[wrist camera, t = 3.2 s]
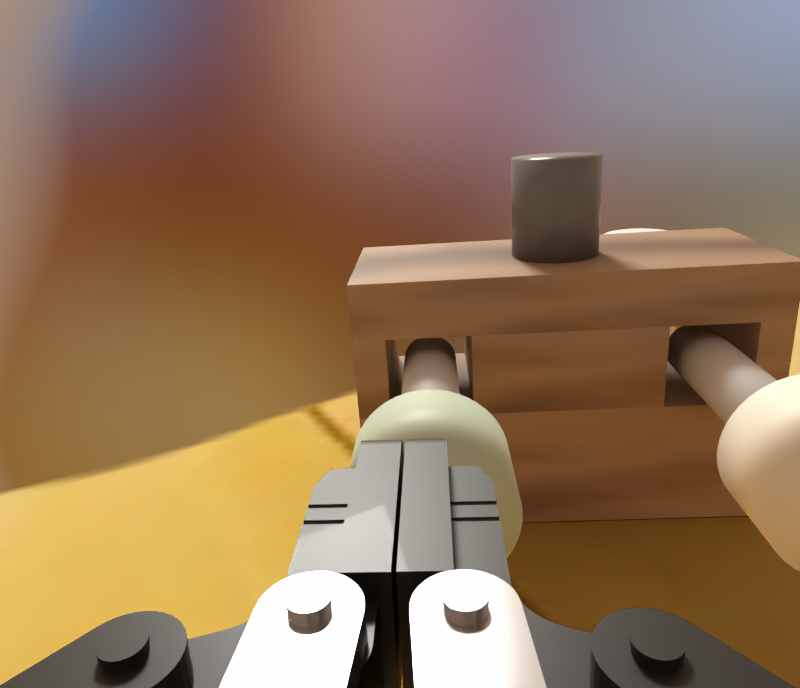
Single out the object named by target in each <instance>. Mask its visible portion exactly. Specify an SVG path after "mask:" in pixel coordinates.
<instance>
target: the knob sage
mask: <svg viewBox="0 0 800 688" xmlns="http://www.w3.org/2000/svg"><path fill="white" fill-rule="evenodd" d="M442 438H446V439H447V455H448V467H449V466H479V467H480V468H481V469H482V470H483V472H484V473H485V474H486V475H487V476H488V477H489V478H490V479H491V480H492V481H493V483H494V489H495V495H496V500H497V506H498V512H499V520H500V523H501V529H502V535H503V540H504V546H505V552H506V557H507V558H508V557H509V555H510V554H511V553H512V551H513V549H514V547H515V546H516V543H517V541H518V538H519V536H520V532H521V528H522V520H523V512H522V503H521V499H520V495H519V490H518V486H517V482H516V478H515V473H514V469H513V465H512V461H511V456H510V452H509V448H508V444H507V440H506V437H505V435H504V432H503V430H502V428H501V427H500V425H499V423H498V422H497V421H496V419H495V418H494V417H493V416H492V415H491V414H490V413H489V412H488V411H487V410H486V409H485V408H484V407H482V406H481V405H480V404H478V403H477V402H475V401H473V400H472V399H470V398H468V397H465V396H463V395H460V392H459V382H458V373H457V364H456V355H455V352H454V349H453V348H452V346H451V345H450V344H449V343H448V342H447V341H446V340H444V339H442V338H419V339H416V340H415V341H413V343H411V344H410V346H409V347H408V349H407V351H406V354H405V360H404V371H403V382H402V393H401V395H399V396H396V397H394V398H393V399H391V400H389V401H387V402H385V403H384V404H382V405H381V406H380V407H378V408H377V409H376V410H375V411H374V412H373V413H372V414H371V415H370V416H369V417H368V419H367V420H366V421H365V423H364V424H363V426H362V427H361V429H360V432H359V434H358V436H357V439H356V443H355V447H354V451H353V456H352V460H351V465H350V469H355V467H356V462H357V457H358V452H359V448H360V443H361V441H366V440H403V449H404V454H405V441H406V439H442Z"/></svg>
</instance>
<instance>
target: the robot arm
mask: <svg viewBox="0 0 800 688" xmlns="http://www.w3.org/2000/svg"><path fill="white" fill-rule="evenodd" d="M402 674H403V688H795V687H794V686H792V685H791V684H789V683H787V682H786V681H784V680H782V679H781V678H779V677H778V676H776V675H774V674H773V673H771V672H770V671H768V670H766V669H765V668H763V667H761V666H760V665H758V664H757V663H755V662H753V661H752V660H750V659H748V658H747V657H745V656H744V655H742V654H740V653H739V652H737V651H736V650H734V649H732V648H731V647H729V646H727V645H726V644H724V643H723V642H721V641H719V640H718V639H716V638H714V637H713V636H711V635H710V634H708V633H706V632H705V631H703V630H701V629H700V628H698V627H697V626H695V625H693V624H692V623H690V622H688V621H686V620H684V619H683V618H680V617H678V616H676V615H673V614H671V613H667V612H664V611H660V610H655V609H649V608H628V609H623V610H619V611H616V612H613V613H611V614H609V615H607V616H605V617H604V618H603V619H602V620H601V621H599V622H598V624H597V625H596V627H595V628H594V631H593V633H590V632H586V631H582V630H578V629H573V628H569V627H565V626H562V625H559V624H555V623H553V622H550V621H548V620H546V619H544V618H542V617H540V616H538V615H537V614H535V613H534V612H532V611H531V610H530V609H528V608H527V607H526V606H525V605H524V604H523V603H522V602H521V601H520V598H519V596H518V594H517V593H516V592H515V590H514V589H513V588H512V584H511V580H510V575H509V569H508V563H507V557H506V552H505V546H504V540H503V535H502V529H501V523H500V520H499V512H498V506H497V500H496V495H495V489H494V483H493V481H492V480H491V479H490V478H489V477H488V476H487V475H486V474H485V473H484V472H483V470H482V469H481V468H480V467H479V466H449V467H448V455H447V439H446V438H442V439H406V441H405V454H404V449H403V440H366V441H361V443H360V448H359V452H358V457H357V462H356V467H355V469H331V470H330V471H329V472H328V473H327V474H326V475H325V476H324V477H323V478H322V479H321V480H320V481H319V482H318V483H317V484H316V485H315V486H314V489H313V492H312V495H311V498H310V502H309V508H307V511H306V515H305V518H304V524H302V528H301V531H300V534H299V538H298V541H297V544H296V547H295V551H294V554H293V557H292V560H291V564H290V567H289V570H288V573H287V577H286V579H284V580H282V581H280V582H278V583H277V584H275V585H274V586H272V587H271V588H270V589H269V590H267V591H266V592H265V593H264V594H263V596H262V597H261V598H260V599H259V601H258V603H257V605H256V607H255V609H254V611H253V613H252V616H251V618H250V620H249V621H248V622H246V623H243V624H241V625H239V626H236V627H233V628H230V629H227V630H223V631H219V632H216V633H212V634H208V635H204V636H200V637H196V638H192V639H188V640H187V635H186V630H185V628H184V626H183V624H182V623H181V622H180V621H179V620H178V619H177V618H175V617H173V616H172V615H169V614H166V613H163V612H157V611H143V612H135V613H130V614H126V615H123V616H120V617H117V618H114V619H112V620H110V621H107V622H105V623H104V624H102V625H100V626H98V627H96V628H95V629H93V630H91V631H90V632H88V633H86V634H85V635H83V636H81V637H80V638H78V639H76V640H75V641H73V642H71V643H70V644H68V645H66V646H65V647H63V648H61V649H60V650H58V651H56V652H55V653H53V654H51V655H50V656H48V657H46V658H45V659H43V660H42V661H40V662H38V663H37V664H35V665H33V666H32V667H30V668H28V669H27V670H25V671H23V672H22V673H20V674H18V675H17V676H15V677H13V678H12V679H10V680H8V681H7V682H5V683H3V684H2V685H0V688H401V680H402Z"/></svg>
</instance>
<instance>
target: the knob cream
mask: <svg viewBox="0 0 800 688" xmlns="http://www.w3.org/2000/svg"><path fill="white" fill-rule="evenodd" d="M668 362H669V363H670V365H671V366H672V367H673V368H674V369H675V370H676V371H677V372H678V373H679V374H680V375H681V376H682V377H683V379H684V380H685V381H686V382H687V383H688V384H689V385H690V386H691V387H692V388H693V389H694V390H695V391H696V393H697V394H698V395H699V396H700V397H701V398H702V399H703V400H704V401H705V402H706V403H707V404H708V405H709V406H710V408H711V409H712V410H713V411H714V412H715V413H716V414H717V415H718V416H719V417H720V418H721V419H722V420H723V422H724V423H725V424H726V425H725V427H724V429H723V431H722V433H721V436H720V439H719V443H718V448H717V465H718V471H719V474H720V477H721V479H722V481H723V483H724V485H725V487H726V488H727V490H728V491H729V492H730V494H731V495H732V496H733V498H734V499H735V500H736V501H737V503H738V504H739V505H740V507H741V508H742V509H743V510H744V512H745V513H746V514H747V516H748V517H749V518H750V519H751V521H752V522H753V523H754V525H755V526H756V527H757V528H758V530H759V531H760V532H761V534H762V535H763V536H764V537H765V539H766V540H767V541H768V543H769V544H770V545H771V546H772V548H773V549H774V550H775V552H776V553H777V554H778V555H779V556H780V557H781V558H782V559H783V561H784V562H786V563H787V564H788V565H790V566H791V567H792V568H794V569H796V570H797V571H799V572H800V374H799V375H794V376H790V377H786V378H783V379H780V380H776V379H775V378H774V377H772V376H771V375H770V374H769V373H767V372H766V371H765V370H764V369H762V368H761V367H760V366H759V365H757V364H756V363H755V362H753V361H752V360H751V359H750V358H748V357H747V356H746V355H745V354H743V353H742V352H741V351H740V350H738V349H737V348H736V347H735V346H733V345H732V344H731V343H729V342H728V341H727V340H726V339H724V338H723V337H722V336H721V335H719V334H718V333H717V332H716V331H714V330H713V329H712V328H711V327H709V326H707V325H693V326H681V327H680V328H678V329H677V330H675V331H674V332H673V333H672V334H671V336H670V337H669V348H668Z"/></svg>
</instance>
